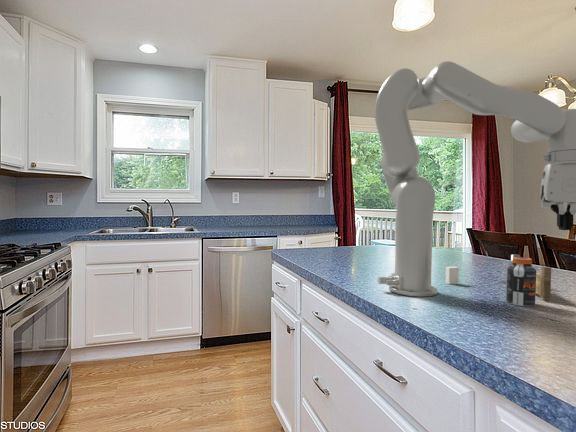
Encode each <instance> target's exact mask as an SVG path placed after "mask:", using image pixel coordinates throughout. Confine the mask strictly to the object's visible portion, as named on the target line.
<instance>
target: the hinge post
mask: <svg viewBox="0 0 576 432" xmlns="http://www.w3.org/2000/svg"><path fill="white" fill-rule="evenodd" d="M513 257H521V255H520V254H516V253H515V254H514V253H513V254H510V263H509V264H510V265H512V264H513V263H512V258H513ZM510 265H509V266H510ZM500 283H501V284H504V285H507V279H506V280H500Z"/></svg>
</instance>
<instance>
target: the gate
mask: <svg viewBox="0 0 576 432" xmlns="http://www.w3.org/2000/svg"><path fill="white" fill-rule="evenodd" d="M551 286H552V267H550V266H541V273H539V272H537V271H536V295H538V296H540V299H542V300H547V301H548V300H549V301H550V300H551V293H552V292H551V291H552V287H551Z"/></svg>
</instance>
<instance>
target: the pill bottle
mask: <svg viewBox="0 0 576 432" xmlns="http://www.w3.org/2000/svg"><path fill="white" fill-rule="evenodd" d="M512 263H513V264H512V265H509V266H507V269H506V270H507V272H506V274H507V275H506V280H507V284H506V296H505V301H506V302H507V303H508V304H511V305H514V306H519V307H533V306H534V307H535V305H536V296H537V294H536V272H537V269H536V268H535V267H534V266H533V265H532V264H533V259H532V258H529V257H525V256H524V257H522V256H520V257H513V258H512Z"/></svg>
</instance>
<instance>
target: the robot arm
mask: <svg viewBox="0 0 576 432" xmlns="http://www.w3.org/2000/svg"><path fill="white" fill-rule="evenodd" d="M445 100H447V101H449V102H451V103H453V104H455V105H456V106H458V107H460V108H462V109H464V110H465V111H467V112H469V113H471V114H473V115H476V116H477V115H478V116H502V117H506V118H510V119H512V120H515V121H514V122H513V123H512V125H511V127H510V134H511V136H512V137H513V139H514V140H516V141H518V142H521V143H527V144H528V143H534V142H540V141H547V153H546V154H545V155H541V159H540V160H541V161H544V162H546V165H544V168H543V172H542V176H541V182H540V200H541V202H540V204H539V205H540V207H542V208H545V209H551V211H552V212H554V214H555V215H556V226H557V227H558V230H560V231H572V228H573V227H574V215H576V108H568V109H562V108H561V107H560V106H559V105H558V104H556V103H555V102H553V101H552V100H550V99H548V98H546V97H544V96H542V95H540V94H538V93H535V92H534V91H529V90H527V89H524V88H517V87H512V86H506V85H501V84H497V83H494V82H492V81H489V80H488V79H486V78H484V77H482V76H480V75H479V74H477V73H475V72H473V71H471V70H470V69H467V68H466V67H464V66H462V65H460V64H458V63H456V62H453V61H448V60H446V61H442V62H440V63H438V64H437V65H435V66H434V68H433V69H432V70H430V72H429V73H428V75H427V76H424V77H421V78H419V77H418V76H417V74H416V73H415V71H414V70H412V69H410V68H400V69H397V70H395V71H394V72H393V73H391V74H390V75H389V76H388V78H387V79H386V80H385V81H384V82H383V84H382V85H381V87H380V89H379V90H378V92H377V96H376V100H375V103H374V105H375V106H374V120H375V126H376V129H377V133H378V137H379V141H380V144H381V146H382V147H381V148H382V152H383V153H382V154H381V158H380V164H381V165H380V166H381V169H382V173H383V174H382V175H383V176H384V179H385V184H386V185H387V189H388V191H389V196H390V198H391V200H392V202H393V204H394V205H395V206H396V216H395V242H394V243H395V247H394V251H395V252H394V253H395V254H394V272H391V275H389V276H386V277H385V276H378V277H377V283H378V285H386V286H388V290H389V291H390V292H391V293H394V294H398V295H402V296H407V297H408V296H409V297H421V298H422V297H423V298H424V297H432V296H436V295H437V294H438V288H437V287H435V286H432V266H433V265H432V262H433V259H432V257H433V256H432V255H433V222H434V221H433V219H434V212H435V211H434V210H435V206H436V205H435V203H436V191H435V188H434V186H433V184H432V183H431V182H430V181H429V180H428V179H426V178H424V177H422V176H419V173H418V170H417V166H418V164H419V162H420V159H421V158H420V157H421V156H420V152H419V151H420V150H419V149H418V146H417V143H416V140H415V137H414V134H413V131H412V128H411V124H410V120H409V115H408V112H409V111H414V110H417V109H418V110H419V109H422V108H426V107H430V106H434V105H437V104H440V103H442V102H444V101H445ZM564 203H566V206H565V204H564Z"/></svg>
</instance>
